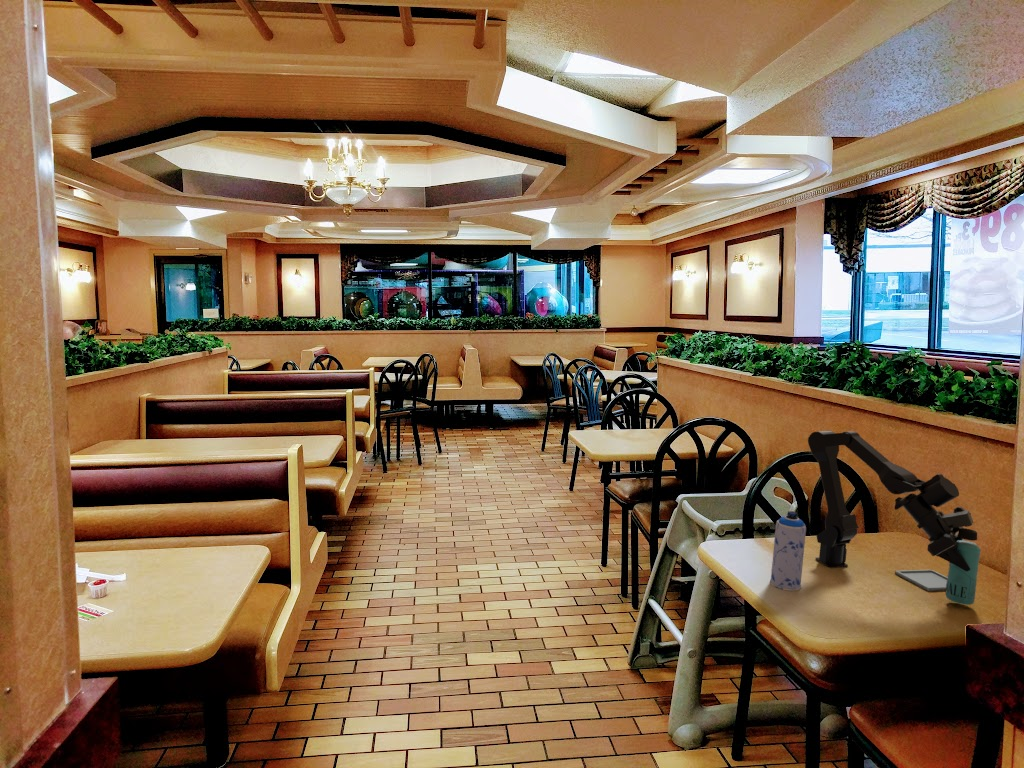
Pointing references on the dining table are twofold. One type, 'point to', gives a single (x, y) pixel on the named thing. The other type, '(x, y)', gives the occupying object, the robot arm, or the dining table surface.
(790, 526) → the aerosol can
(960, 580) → the beverage bottle
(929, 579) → the tray
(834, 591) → the dining table surface
